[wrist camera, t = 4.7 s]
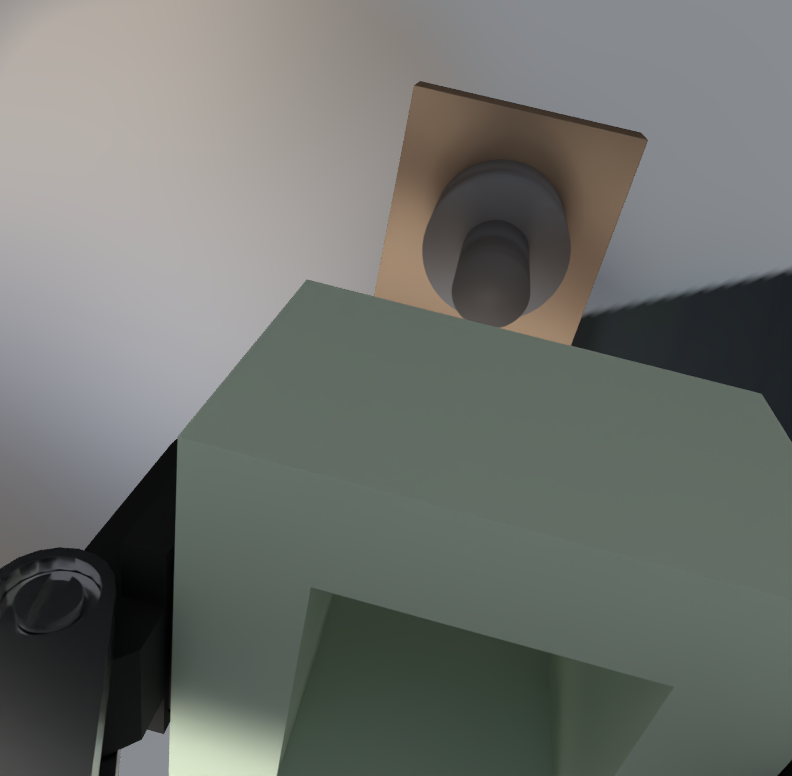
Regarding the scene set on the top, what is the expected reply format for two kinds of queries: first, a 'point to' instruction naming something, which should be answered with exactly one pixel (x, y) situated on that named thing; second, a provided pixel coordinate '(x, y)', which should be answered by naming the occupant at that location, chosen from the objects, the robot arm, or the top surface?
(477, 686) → the collar
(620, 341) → the top surface
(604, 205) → the board
